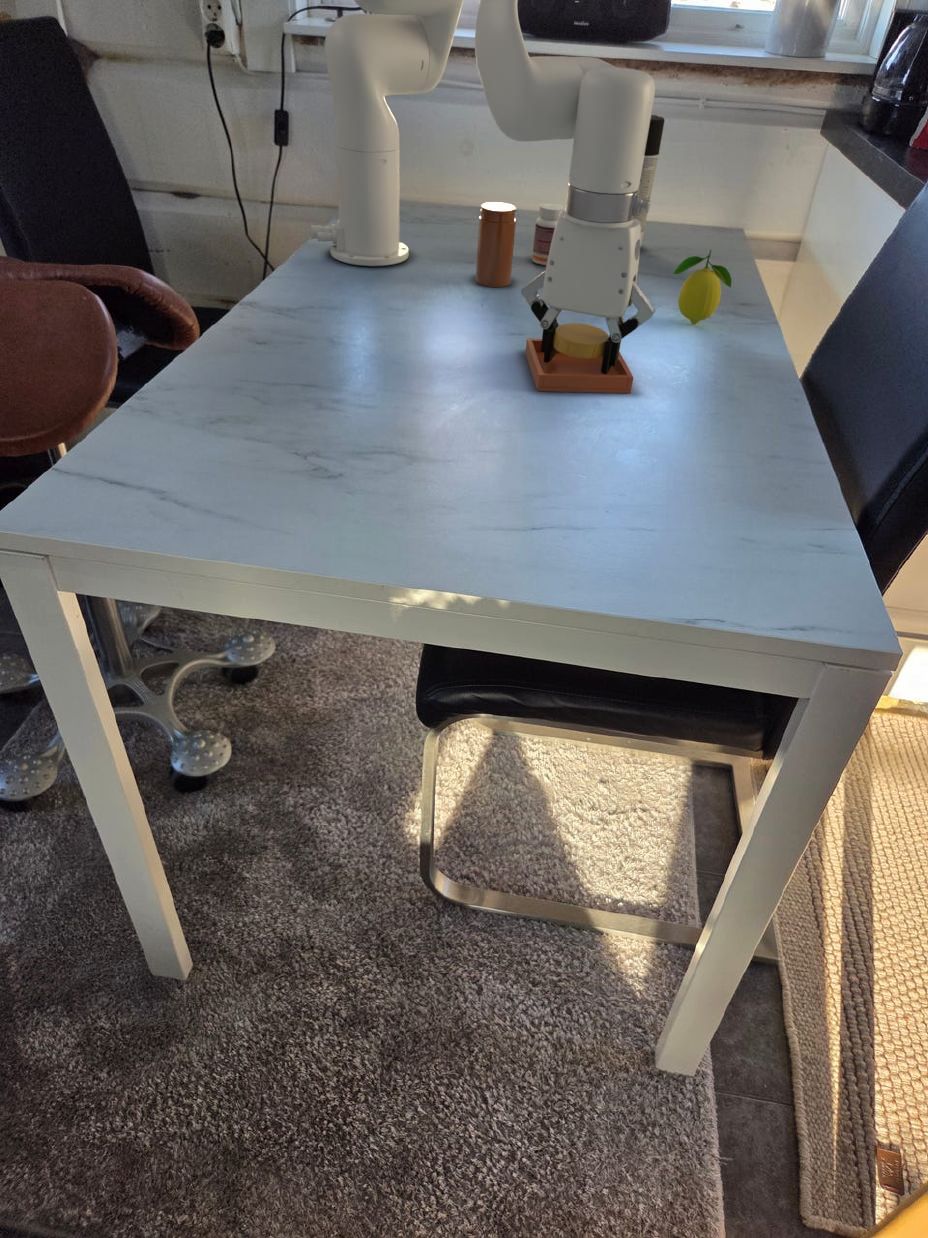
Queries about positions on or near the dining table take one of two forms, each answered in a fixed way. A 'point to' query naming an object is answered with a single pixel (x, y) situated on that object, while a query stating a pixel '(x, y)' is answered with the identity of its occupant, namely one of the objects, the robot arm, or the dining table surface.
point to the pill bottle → (545, 231)
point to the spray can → (650, 164)
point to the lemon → (701, 289)
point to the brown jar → (495, 244)
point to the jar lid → (580, 340)
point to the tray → (576, 372)
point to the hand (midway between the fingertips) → (577, 363)
